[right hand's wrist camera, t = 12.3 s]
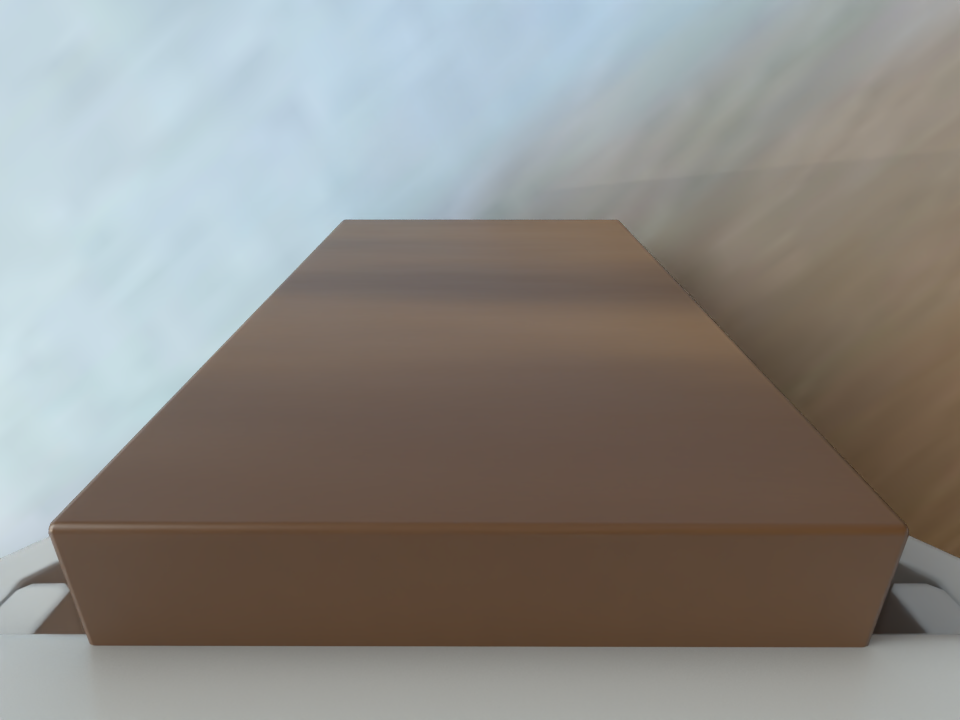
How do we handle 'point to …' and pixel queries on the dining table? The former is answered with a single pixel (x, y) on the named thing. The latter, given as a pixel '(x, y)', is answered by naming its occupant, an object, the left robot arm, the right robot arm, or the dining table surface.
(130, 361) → the dining table surface
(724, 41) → the dining table surface
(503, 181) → the dining table surface
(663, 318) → the box
